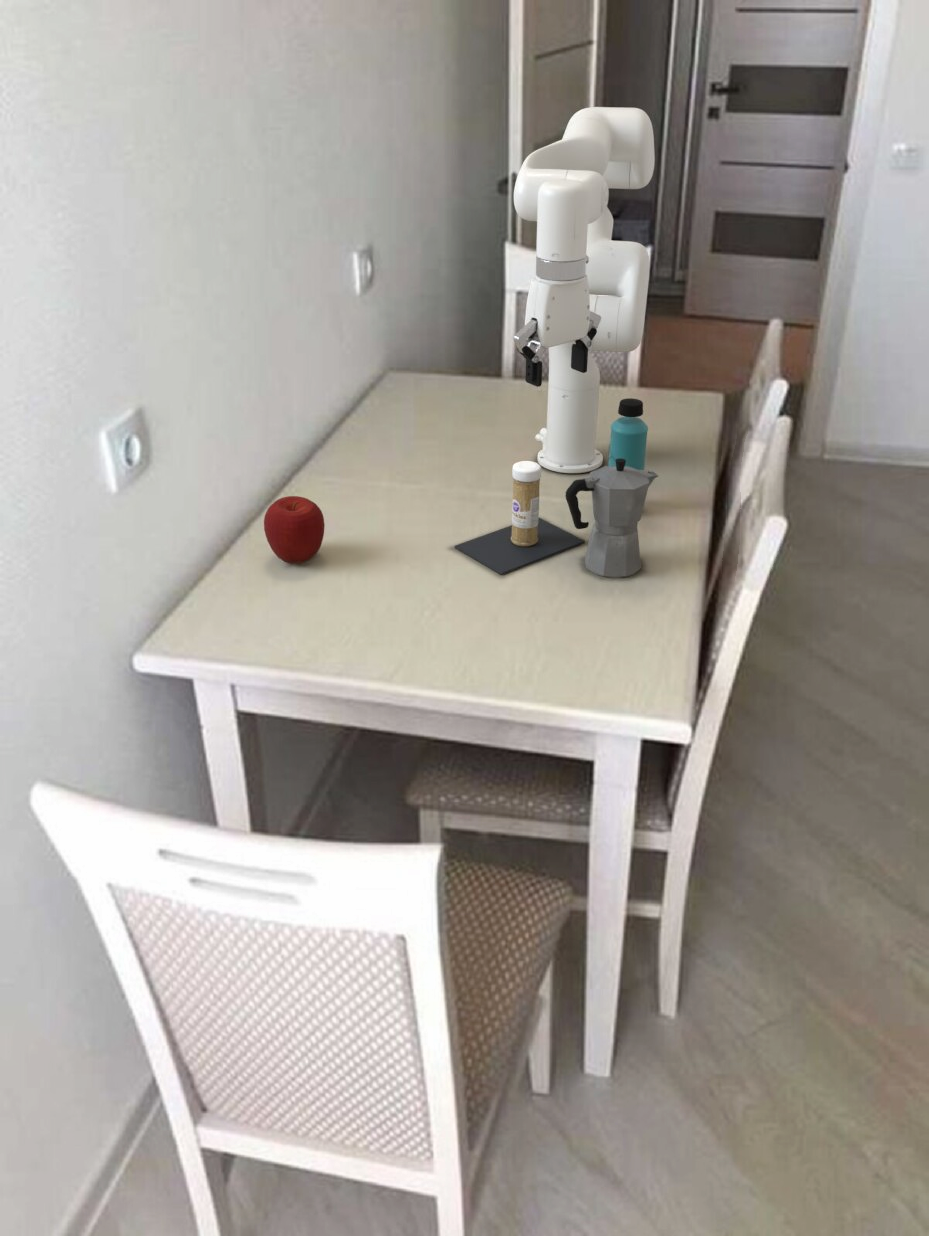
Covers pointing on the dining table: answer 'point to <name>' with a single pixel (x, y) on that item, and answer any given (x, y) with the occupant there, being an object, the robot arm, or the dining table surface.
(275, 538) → the apple
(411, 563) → the dining table surface
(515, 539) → the sprinkles bottle
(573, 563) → the dining table surface
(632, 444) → the beverage bottle
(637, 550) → the coffeepot
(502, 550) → the mat
